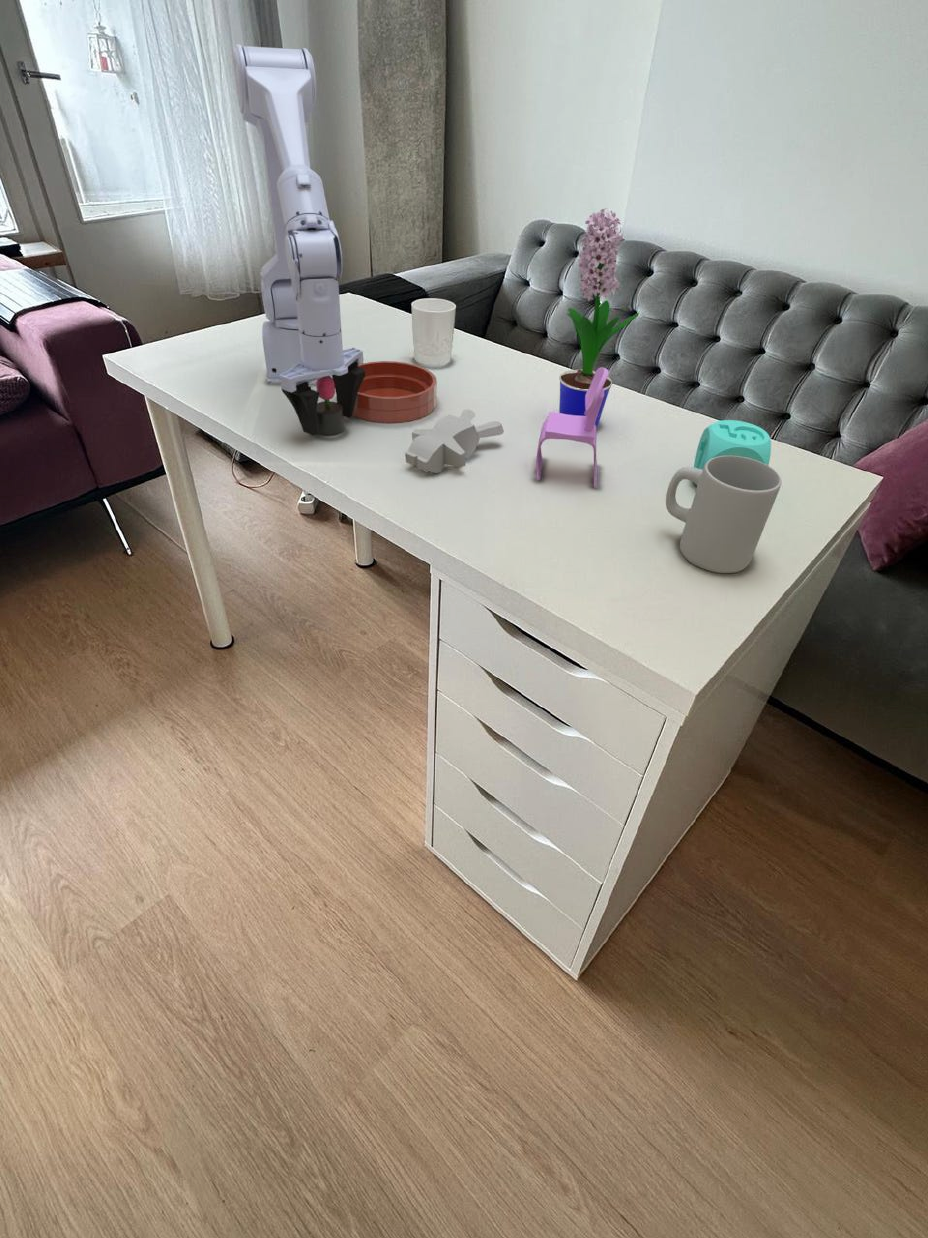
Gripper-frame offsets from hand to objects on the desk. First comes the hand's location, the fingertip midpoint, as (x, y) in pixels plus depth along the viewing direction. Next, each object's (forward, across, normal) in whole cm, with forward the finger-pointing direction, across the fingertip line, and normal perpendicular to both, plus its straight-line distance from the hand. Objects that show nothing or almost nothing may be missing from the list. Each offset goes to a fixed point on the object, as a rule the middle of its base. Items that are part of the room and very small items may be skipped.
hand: (328, 423), depth 100 cm
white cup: (+2, +34, +6) cm, 34 cm away
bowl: (+1, +13, 0) cm, 13 cm away
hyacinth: (+2, +29, -28) cm, 40 cm away
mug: (+2, +7, -56) cm, 56 cm away
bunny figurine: (+2, +6, -18) cm, 19 cm away
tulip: (+1, 0, 0) cm, 1 cm away
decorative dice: (+2, +24, -52) cm, 58 cm away
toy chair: (+2, +13, -34) cm, 36 cm away
